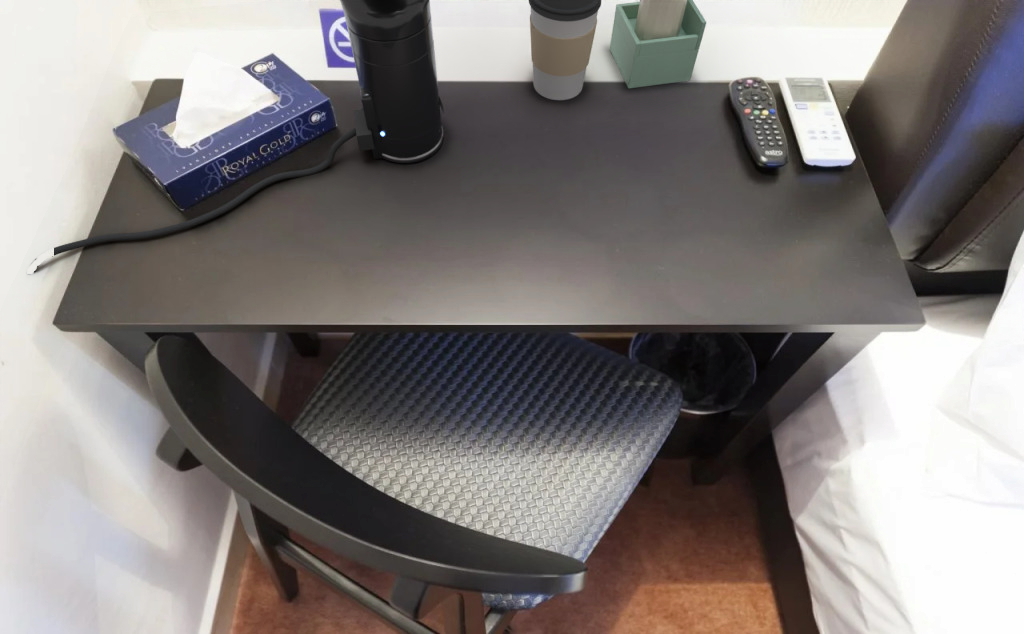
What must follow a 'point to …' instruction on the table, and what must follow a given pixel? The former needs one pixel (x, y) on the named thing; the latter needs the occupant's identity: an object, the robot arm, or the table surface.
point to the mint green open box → (655, 48)
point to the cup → (659, 19)
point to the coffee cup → (561, 45)
